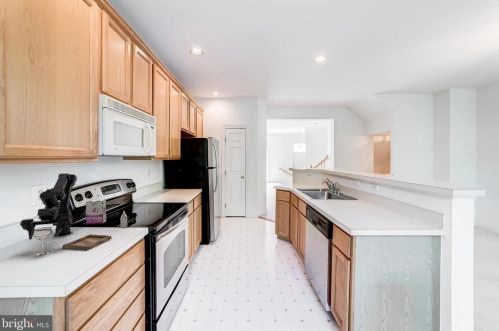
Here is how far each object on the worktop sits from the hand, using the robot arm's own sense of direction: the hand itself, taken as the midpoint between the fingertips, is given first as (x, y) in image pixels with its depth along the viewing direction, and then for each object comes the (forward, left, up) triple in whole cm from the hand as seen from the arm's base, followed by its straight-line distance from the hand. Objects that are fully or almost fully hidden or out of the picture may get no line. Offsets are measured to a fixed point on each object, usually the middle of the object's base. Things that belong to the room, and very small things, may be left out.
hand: (42, 237), depth 104 cm
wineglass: (0, 0, -8) cm, 8 cm away
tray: (-14, +11, -8) cm, 19 cm away
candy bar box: (-49, -17, -8) cm, 53 cm away
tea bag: (-45, +8, -8) cm, 47 cm away
